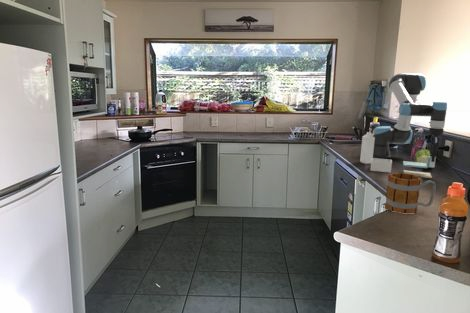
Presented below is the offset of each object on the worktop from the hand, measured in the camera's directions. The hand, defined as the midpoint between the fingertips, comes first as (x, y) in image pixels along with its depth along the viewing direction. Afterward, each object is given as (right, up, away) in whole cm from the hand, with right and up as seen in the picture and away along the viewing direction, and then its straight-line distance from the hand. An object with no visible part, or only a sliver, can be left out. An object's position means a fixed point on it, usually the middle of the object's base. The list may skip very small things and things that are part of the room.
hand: (431, 165), depth 212 cm
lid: (-6, 0, +3) cm, 7 cm away
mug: (-43, -18, -59) cm, 75 cm away
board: (-7, -6, +4) cm, 10 cm away
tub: (-26, -4, +12) cm, 29 cm away
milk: (-27, +1, +33) cm, 43 cm away
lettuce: (+9, -2, +26) cm, 27 cm away
